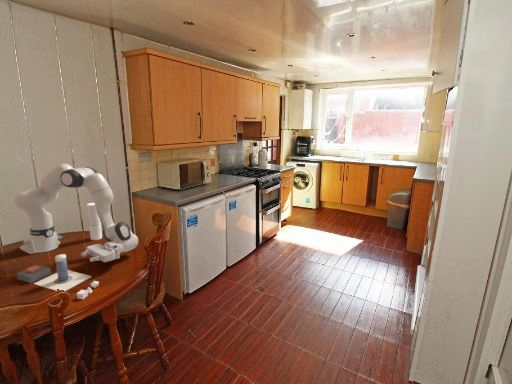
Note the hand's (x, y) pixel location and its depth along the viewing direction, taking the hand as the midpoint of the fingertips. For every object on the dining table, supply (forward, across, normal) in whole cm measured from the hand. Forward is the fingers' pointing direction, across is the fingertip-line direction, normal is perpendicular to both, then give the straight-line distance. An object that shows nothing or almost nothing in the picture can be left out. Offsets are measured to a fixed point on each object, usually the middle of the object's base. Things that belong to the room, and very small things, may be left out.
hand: (85, 257), depth 152 cm
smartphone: (-9, -70, +9) cm, 71 cm away
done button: (+19, -16, +6) cm, 25 cm away
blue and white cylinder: (+12, 0, +8) cm, 14 cm away
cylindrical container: (-27, -44, +8) cm, 52 cm away
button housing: (+19, -16, +8) cm, 26 cm away
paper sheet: (+12, 0, +8) cm, 14 cm away
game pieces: (+9, +20, +9) cm, 24 cm away
